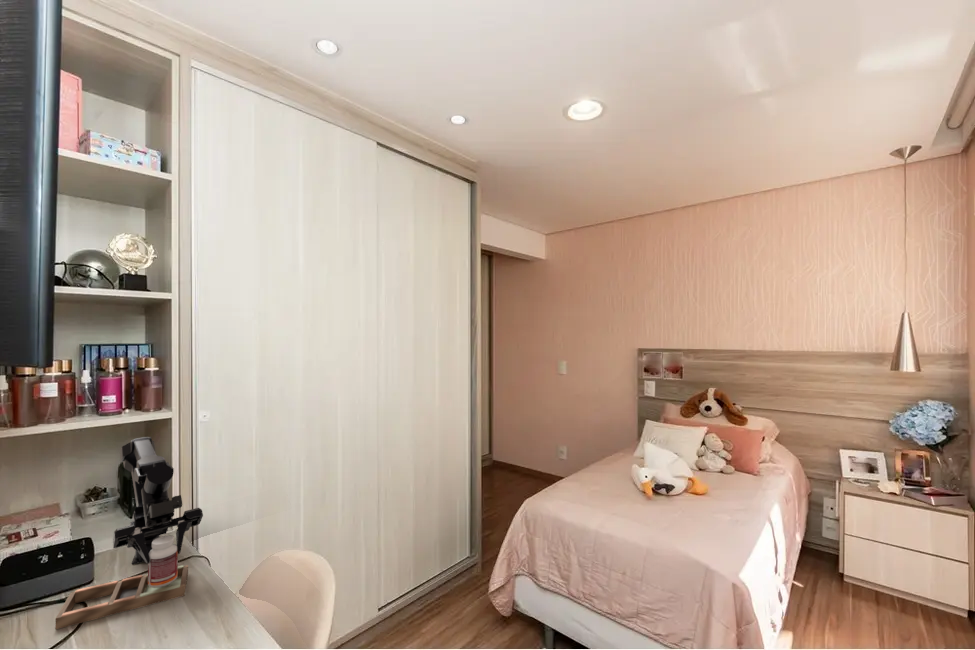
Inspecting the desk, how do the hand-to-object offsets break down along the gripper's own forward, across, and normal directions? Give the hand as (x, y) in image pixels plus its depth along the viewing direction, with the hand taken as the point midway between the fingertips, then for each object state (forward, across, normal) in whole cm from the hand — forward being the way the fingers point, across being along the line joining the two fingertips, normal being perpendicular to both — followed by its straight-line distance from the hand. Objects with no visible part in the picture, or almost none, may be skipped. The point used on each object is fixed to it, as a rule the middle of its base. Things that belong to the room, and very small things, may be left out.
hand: (164, 558), depth 111 cm
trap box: (+4, -7, +8) cm, 12 cm away
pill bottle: (+4, 0, +6) cm, 7 cm away
